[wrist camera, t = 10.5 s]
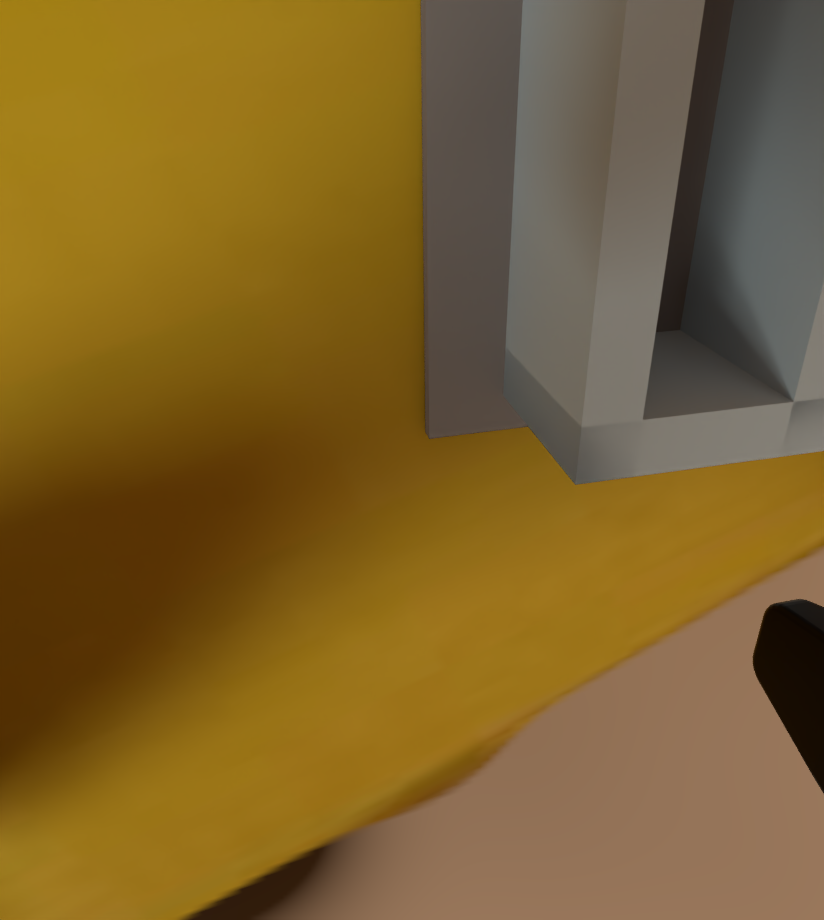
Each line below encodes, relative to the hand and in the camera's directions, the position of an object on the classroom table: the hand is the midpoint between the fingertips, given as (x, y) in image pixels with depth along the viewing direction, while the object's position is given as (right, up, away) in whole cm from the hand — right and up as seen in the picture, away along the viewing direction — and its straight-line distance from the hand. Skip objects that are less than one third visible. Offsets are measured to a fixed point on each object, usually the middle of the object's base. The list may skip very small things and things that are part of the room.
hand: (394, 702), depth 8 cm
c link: (+5, +10, +9) cm, 14 cm away
